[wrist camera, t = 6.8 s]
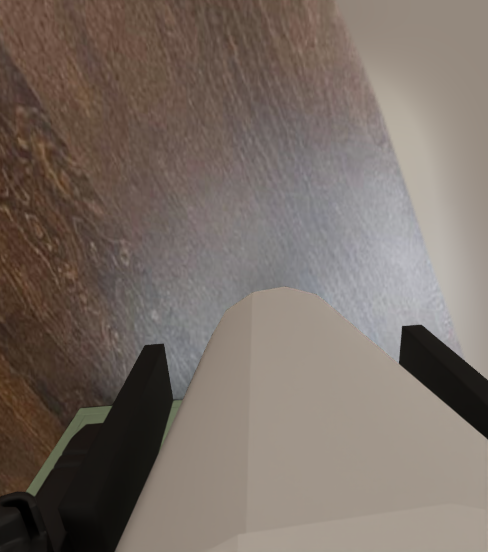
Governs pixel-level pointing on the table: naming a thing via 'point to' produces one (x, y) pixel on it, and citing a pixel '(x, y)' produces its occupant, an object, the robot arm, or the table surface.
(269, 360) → the foam cup
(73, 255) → the table surface
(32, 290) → the table surface
